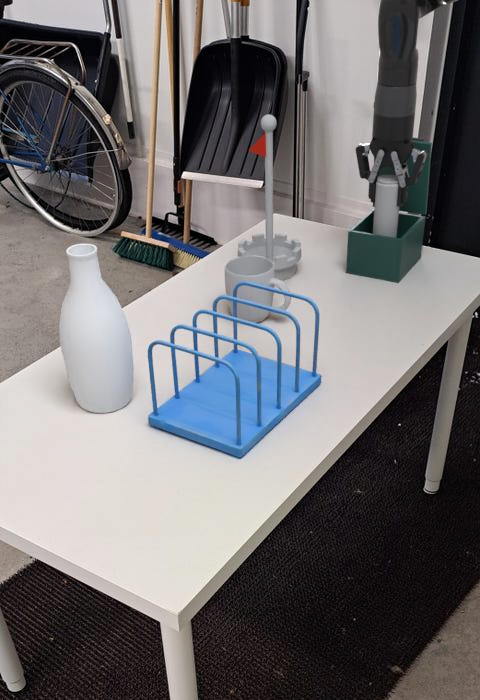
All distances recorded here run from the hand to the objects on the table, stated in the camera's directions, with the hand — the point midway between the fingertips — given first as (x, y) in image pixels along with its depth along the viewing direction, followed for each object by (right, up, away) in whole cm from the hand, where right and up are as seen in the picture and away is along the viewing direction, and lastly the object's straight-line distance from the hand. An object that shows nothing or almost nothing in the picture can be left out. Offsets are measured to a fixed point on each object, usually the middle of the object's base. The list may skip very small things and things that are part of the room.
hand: (387, 202), depth 167 cm
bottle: (-51, -43, -26) cm, 72 cm away
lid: (+3, +6, +3) cm, 7 cm away
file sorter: (-29, -44, -29) cm, 60 cm away
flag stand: (-23, -11, +10) cm, 27 cm away
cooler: (+1, -9, +10) cm, 13 cm away
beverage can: (0, -6, +5) cm, 8 cm away
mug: (-25, -24, -6) cm, 36 cm away
